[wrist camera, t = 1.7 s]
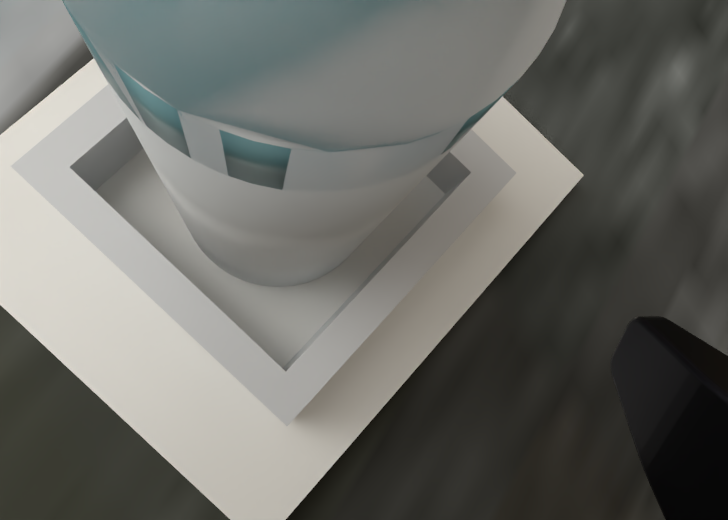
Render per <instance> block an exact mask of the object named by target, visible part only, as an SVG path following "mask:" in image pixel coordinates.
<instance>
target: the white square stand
mask: <svg viewBox="0 0 728 520" xmlns="http://www.w3.org/2000/svg"><path fill="white" fill-rule="evenodd" d="M583 176H584V175H583V174H582V173H581V172H580V171H579V170H578V169H577V168H576V167H575V166H574V165H573V164H572V163H571V162H570V161H569V160H568V159H567V158H565V157H564V156H563V155H562V154H561V153H560V152H559V151H558V150H557V149H556V148H555V147H554V146H553V145H552V144H551V143H550V142H549V141H548V140H547V139H546V138H545V137H544V136H543V135H542V134H541V133H540V132H539V131H538V130H537V129H536V128H535V127H534V126H532V125H531V124H530V123H529V122H528V121H527V120H526V119H525V118H524V117H523V116H522V115H521V114H520V113H519V112H518V111H517V110H516V109H515V108H514V107H513V106H512V105H511V104H510V103H509V102H508V101H507V100H506V99H505V98H504V97H503V96H502V97H501V98H500V100H499V101H498V102H497V103H496V104H495V105H494V106H493V107H492V108H491V109H490V110H489V111H488V112H487V113H486V114H485V115H484V116H483V117H482V118H481V119H480V120H479V121H478V122H477V123H476V124H475V126H474V127H473V128H472V129H471V130H470V131H469V132H468V133H467V134H466V135H465V136H464V137H463V138H462V139H461V140H460V141H459V142H458V143H457V144H456V145H455V146H454V147H453V148H452V149H451V151H450V152H449V153H448V154H447V155H446V156H445V157H444V158H443V159H442V160H441V161H440V162H439V163H438V164H437V165H436V166H435V167H434V168H433V169H432V170H431V171H430V172H429V173H428V174H427V175H426V177H425V178H424V179H423V180H422V181H421V182H420V183H419V184H418V185H417V186H416V187H415V188H414V189H413V190H412V191H411V192H410V193H409V194H408V195H407V196H406V197H405V198H404V199H403V200H402V202H401V203H400V204H399V205H398V206H397V207H396V208H395V209H394V210H393V211H392V212H391V213H390V214H389V215H388V216H387V217H386V218H385V219H384V220H383V221H382V222H381V223H380V224H379V225H378V226H377V228H376V229H375V230H374V231H373V232H372V233H371V234H370V235H369V236H368V237H367V238H366V239H365V240H364V241H363V242H362V243H361V244H360V245H359V246H358V247H357V248H356V249H355V250H354V251H353V252H352V254H351V255H350V256H349V257H348V258H347V259H346V260H344V261H343V262H342V263H341V264H340V265H339V266H338V267H336V268H335V269H334V270H332V271H331V272H329V273H328V274H326V275H324V276H322V277H320V278H318V279H316V280H313V281H310V282H307V283H304V284H299V285H295V286H285V287H271V286H263V285H257V284H253V283H250V282H247V281H243V280H241V279H239V278H237V277H235V276H232V275H230V274H229V273H227V272H226V271H224V270H222V269H221V268H219V267H218V266H217V265H216V264H215V263H213V262H212V261H211V260H210V259H209V258H208V257H207V256H206V255H205V254H204V253H203V251H202V250H201V249H200V248H199V246H198V245H197V243H196V242H195V240H194V239H193V237H192V235H191V233H190V232H189V230H188V228H187V226H186V224H185V222H184V221H183V219H182V217H181V215H180V213H179V212H178V210H177V208H176V206H175V204H174V202H173V201H172V199H171V197H170V195H169V193H168V192H167V190H166V188H165V186H164V184H163V183H162V181H161V179H160V177H159V175H158V173H157V172H156V170H155V168H154V166H153V164H152V163H151V161H150V159H149V157H148V155H147V153H146V152H145V150H144V148H143V146H142V144H141V143H140V141H139V139H138V137H137V135H136V134H135V132H134V130H133V128H132V126H131V124H130V123H129V121H128V119H127V117H126V115H125V114H124V112H123V110H122V108H121V106H120V104H119V103H118V101H117V99H116V97H115V95H114V94H113V92H112V90H111V88H110V86H109V84H108V83H107V81H106V79H105V77H104V75H103V74H102V72H101V70H100V68H99V66H98V65H97V63H96V61H95V59H92V60H91V61H90V62H89V63H88V64H86V65H85V66H84V67H83V68H81V69H80V70H79V71H78V72H77V73H75V74H74V75H73V76H72V77H71V78H69V79H68V80H67V81H66V82H64V83H63V84H62V85H61V86H60V87H58V88H57V89H56V90H55V91H53V92H52V93H51V94H50V95H49V96H47V97H46V98H45V99H44V100H43V101H41V102H40V103H39V104H38V105H36V106H35V107H34V108H33V109H32V110H30V111H29V112H28V113H27V114H26V115H24V116H23V117H22V118H21V119H19V120H18V121H17V122H16V123H15V124H13V125H12V126H11V127H10V128H8V129H7V130H6V131H5V132H4V133H2V134H1V135H0V305H1V306H2V307H3V308H4V309H5V310H7V311H8V312H9V313H10V314H11V315H12V316H13V317H14V318H15V319H16V320H17V321H18V322H19V323H20V324H22V325H23V326H24V327H25V328H26V329H27V330H28V331H29V332H30V333H31V334H32V335H33V336H34V337H35V338H37V339H38V340H39V341H40V342H41V343H42V344H43V345H44V346H45V347H46V348H47V349H48V350H49V351H50V352H52V353H53V354H54V355H55V356H56V357H57V358H58V359H59V360H60V361H61V362H62V363H63V364H64V365H65V366H67V367H68V368H69V369H70V370H71V371H72V372H73V373H74V374H75V375H76V376H77V377H78V378H79V379H80V380H82V381H83V382H84V383H85V384H86V385H87V386H88V387H89V388H90V389H91V390H92V391H93V392H94V393H95V394H97V395H98V396H99V397H100V398H101V399H102V400H103V401H104V402H105V403H106V404H107V405H108V406H109V407H110V408H111V409H113V410H114V411H115V412H116V413H117V414H118V415H119V416H120V417H121V418H122V419H123V420H124V421H125V422H126V423H128V424H129V425H130V426H131V427H132V428H133V429H134V430H135V431H136V432H137V433H138V434H139V435H140V436H141V437H143V438H144V439H145V440H146V441H147V442H148V443H149V444H150V445H151V446H152V447H153V448H154V449H155V450H156V451H158V452H159V453H160V454H161V455H162V456H163V457H164V458H165V459H166V460H167V461H168V462H169V463H170V464H171V465H173V466H174V467H175V468H176V469H177V470H178V471H179V472H180V473H181V474H182V475H183V476H184V477H185V478H186V479H188V480H189V481H190V482H191V483H192V484H193V485H194V486H195V487H196V488H197V489H198V490H199V491H200V492H201V493H203V494H204V495H205V496H206V497H207V498H208V499H209V500H210V501H211V502H212V503H213V504H214V505H215V506H216V507H218V508H219V509H220V510H221V511H222V512H223V513H224V514H225V515H226V516H227V517H228V518H229V519H230V520H286V519H287V517H288V516H289V515H290V514H291V513H292V512H293V511H294V509H295V508H296V507H297V506H298V505H299V504H300V502H301V501H302V500H303V499H304V498H305V497H306V495H307V494H308V493H309V492H310V491H311V490H312V489H313V487H314V486H315V485H316V484H317V483H318V482H319V480H320V479H321V478H322V477H323V476H324V475H325V474H326V472H327V471H328V470H329V469H330V468H331V467H332V465H333V464H334V463H335V462H336V461H337V460H338V459H339V457H340V456H341V455H342V454H343V453H344V452H345V450H346V449H347V448H348V447H349V446H350V445H351V444H352V442H353V441H354V440H355V439H356V438H357V437H358V435H359V434H360V433H361V432H362V431H363V430H364V429H365V427H366V426H367V425H368V424H369V423H370V422H371V420H372V419H373V418H374V417H375V416H376V415H377V414H378V412H379V411H380V410H381V409H382V408H383V407H384V405H385V404H386V403H387V402H388V401H389V400H390V399H391V397H392V396H393V395H394V394H395V393H396V392H397V390H398V389H399V388H400V387H401V386H402V385H403V384H404V382H405V381H406V380H407V379H408V378H409V377H410V375H411V374H412V373H413V372H414V371H415V370H416V369H417V367H418V366H419V365H420V364H421V363H422V362H423V360H424V359H425V358H426V357H427V356H428V355H429V354H430V352H431V351H432V350H433V349H434V348H435V347H436V345H437V344H438V343H439V342H440V341H441V340H442V339H443V337H444V336H445V335H446V334H447V333H448V332H449V330H450V329H451V328H452V327H453V326H454V325H455V324H456V322H457V321H458V320H459V319H460V318H461V317H462V315H463V314H464V313H465V312H466V311H467V310H468V308H469V307H470V306H471V305H472V304H473V303H474V302H475V300H476V299H477V298H478V297H479V296H480V295H481V293H482V292H483V291H484V290H485V289H486V288H487V287H488V285H489V284H490V283H491V282H492V281H493V280H494V278H495V277H496V276H497V275H498V274H499V273H500V272H501V270H502V269H503V268H504V267H505V266H506V265H507V263H508V262H509V261H510V260H511V259H512V258H513V257H514V255H515V254H516V253H517V252H518V251H519V250H520V248H521V247H522V246H523V245H524V244H525V243H526V242H527V240H528V239H529V238H530V237H531V236H532V235H533V233H534V232H535V231H536V230H537V229H538V228H539V227H540V225H541V224H542V223H543V222H544V221H545V220H546V218H547V217H548V216H549V215H550V214H551V213H552V212H553V210H554V209H555V208H556V207H557V206H558V205H559V203H560V202H561V201H562V200H563V199H564V198H565V197H566V195H567V194H568V193H569V192H570V191H571V190H572V188H573V187H574V186H575V185H576V184H577V183H578V182H579V180H580V179H581V178H582V177H583Z"/></svg>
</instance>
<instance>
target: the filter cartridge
mask: <svg viewBox="0 0 728 520" xmlns="http://www.w3.org/2000/svg"><path fill="white" fill-rule="evenodd" d="M62 1H63V3H64V5H65V6H66V8H67V10H68V12H69V14H70V16H71V17H72V19H73V21H74V23H75V25H76V26H77V28H78V30H79V32H80V34H81V35H82V37H83V39H84V41H85V43H86V45H87V46H88V48H89V50H90V52H91V54H92V55H93V57H94V59H95V61H96V63H97V65H98V66H99V68H100V70H101V72H102V74H103V75H104V77H105V79H106V81H107V83H108V84H109V86H110V88H111V90H112V92H113V94H114V95H115V97H116V99H117V101H118V103H119V104H120V106H121V108H122V110H123V112H124V114H125V115H126V117H127V119H128V121H129V123H130V124H131V126H132V128H133V130H134V132H135V134H136V135H137V137H138V139H139V141H140V143H141V144H142V146H143V148H144V150H145V152H146V153H147V155H148V157H149V159H150V161H151V163H152V164H153V166H154V168H155V170H156V172H157V173H158V175H159V177H160V179H161V181H162V183H163V184H164V186H165V188H166V190H167V192H168V193H169V195H170V197H171V199H172V201H173V202H174V204H175V206H176V208H177V210H178V212H179V213H180V215H181V217H182V219H183V221H184V222H185V224H186V226H187V228H188V230H189V232H190V233H191V235H192V237H193V239H194V240H195V242H196V243H197V245H198V246H199V248H200V249H201V250H202V251H203V253H204V254H205V255H206V256H207V257H208V258H209V259H210V260H211V261H212V262H213V263H215V264H216V265H217V266H218V267H219V268H221V269H222V270H224V271H226V272H227V273H229V274H230V275H232V276H235V277H237V278H239V279H241V280H243V281H247V282H250V283H253V284H257V285H263V286H271V287H285V286H295V285H299V284H304V283H307V282H310V281H313V280H316V279H318V278H320V277H322V276H324V275H326V274H328V273H329V272H331V271H332V270H334V269H335V268H336V267H338V266H339V265H340V264H341V263H342V262H343V261H344V260H346V259H347V258H348V257H349V256H350V255H351V254H352V252H353V251H354V250H355V249H356V248H357V247H358V246H359V245H360V244H361V243H362V242H363V241H364V240H365V239H366V238H367V237H368V236H369V235H370V234H371V233H372V232H373V231H374V230H375V229H376V228H377V226H378V225H379V224H380V223H381V222H382V221H383V220H384V219H385V218H386V217H387V216H388V215H389V214H390V213H391V212H392V211H393V210H394V209H395V208H396V207H397V206H398V205H399V204H400V203H401V202H402V200H403V199H404V198H405V197H406V196H407V195H408V194H409V193H410V192H411V191H412V190H413V189H414V188H415V187H416V186H417V185H418V184H419V183H420V182H421V181H422V180H423V179H424V178H425V177H426V175H427V174H428V173H429V172H430V171H431V170H432V169H433V168H434V167H435V166H436V165H437V164H438V163H439V162H440V161H441V160H442V159H443V158H444V157H445V156H446V155H447V154H448V153H449V152H450V151H451V149H452V148H453V147H454V146H455V145H456V144H457V143H458V142H459V141H460V140H461V139H462V138H463V137H464V136H465V135H466V134H467V133H468V132H469V131H470V130H471V129H472V128H473V127H474V126H475V124H476V123H477V122H478V121H479V120H480V119H481V118H482V117H483V116H484V115H485V114H486V113H487V112H488V111H489V110H490V109H491V108H492V107H493V106H494V105H495V104H496V103H497V102H498V101H499V100H500V98H501V97H502V96H503V95H504V94H505V93H506V92H507V91H508V90H509V89H510V88H511V87H512V86H513V85H514V84H515V83H516V82H517V81H518V80H519V79H520V77H521V76H522V75H523V74H524V73H525V71H526V70H527V69H528V68H529V66H530V65H531V64H532V63H533V62H534V60H535V59H536V58H537V57H538V56H539V54H540V52H541V51H542V49H543V47H544V46H545V44H546V42H547V41H548V39H549V37H550V36H551V34H552V32H553V31H554V29H555V27H556V24H557V22H558V19H559V17H560V15H561V12H562V10H563V7H564V5H565V2H566V0H62Z"/></svg>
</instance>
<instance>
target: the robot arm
mask: <svg viewBox="0 0 728 520" xmlns="http://www.w3.org/2000/svg"><path fill="white" fill-rule="evenodd" d="M611 373H612V377H613V380H614V383H615V386H616V389H617V392H618V395H619V398H620V401H621V404H622V407H623V410H624V413H625V416H626V419H627V422H628V425H629V428H630V431H631V434H632V437H633V440H634V443H635V446H636V449H637V452H638V455H639V458H640V461H641V463H642V466H643V469H644V471H645V474H646V476H647V479H648V481H649V483H650V486H651V488H652V490H653V493H654V495H655V497H656V499H657V501H658V504H659V506H660V508H661V510H662V512H663V515H664V517H665V519H666V520H728V356H727V355H725V354H724V353H722V352H720V351H719V350H717V349H715V348H714V347H712V346H711V345H709V344H707V343H706V342H704V341H702V340H701V339H699V338H697V337H696V336H694V335H693V334H691V333H689V332H688V331H686V330H684V329H683V328H681V327H679V326H678V325H676V324H675V323H673V322H671V321H670V320H668V319H666V318H664V317H659V316H649V317H636V318H633V319H632V320H631V321H630V322H629V323H628V325H627V327H626V329H625V331H624V333H623V335H622V337H621V339H620V341H619V343H618V345H617V347H616V349H615V351H614V353H613V356H612V358H611Z"/></svg>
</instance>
